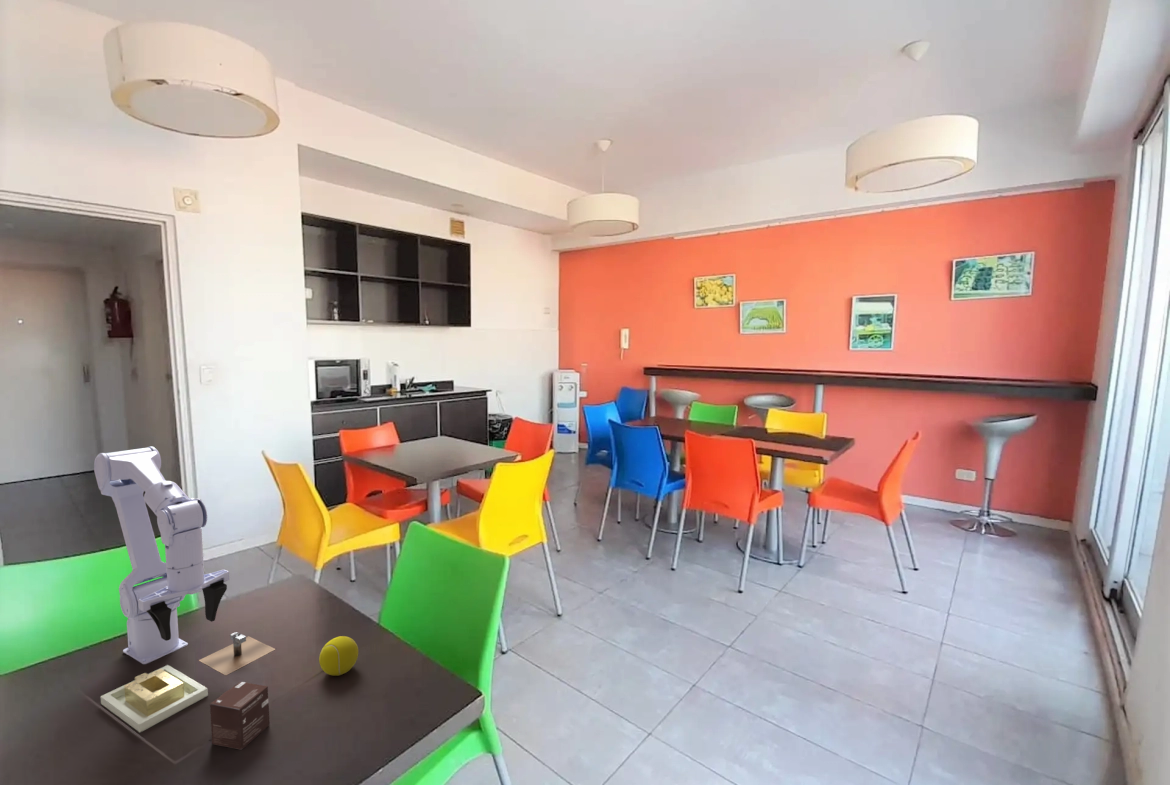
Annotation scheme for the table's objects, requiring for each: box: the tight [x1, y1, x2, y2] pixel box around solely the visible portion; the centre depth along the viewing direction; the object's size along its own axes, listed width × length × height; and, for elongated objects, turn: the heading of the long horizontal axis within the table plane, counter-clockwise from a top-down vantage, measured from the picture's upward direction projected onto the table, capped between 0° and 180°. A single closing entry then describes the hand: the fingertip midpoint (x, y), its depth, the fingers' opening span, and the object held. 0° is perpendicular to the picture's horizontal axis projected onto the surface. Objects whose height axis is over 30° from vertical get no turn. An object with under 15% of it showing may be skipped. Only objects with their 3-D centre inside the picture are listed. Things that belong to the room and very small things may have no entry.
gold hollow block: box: [123, 668, 184, 717], centre depth 95 cm, size 6×10×3 cm, turn 62°
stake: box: [229, 631, 247, 657], centre depth 108 cm, size 4×1×4 cm, turn 63°
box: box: [209, 681, 271, 750], centre depth 87 cm, size 6×6×7 cm
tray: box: [100, 664, 209, 734], centre depth 95 cm, size 14×10×2 cm
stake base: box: [198, 635, 276, 677], centre depth 108 cm, size 10×10×1 cm
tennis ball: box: [318, 635, 359, 677], centre depth 104 cm, size 7×7×7 cm
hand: (189, 628), depth 101 cm, fingers open, 7 cm apart
